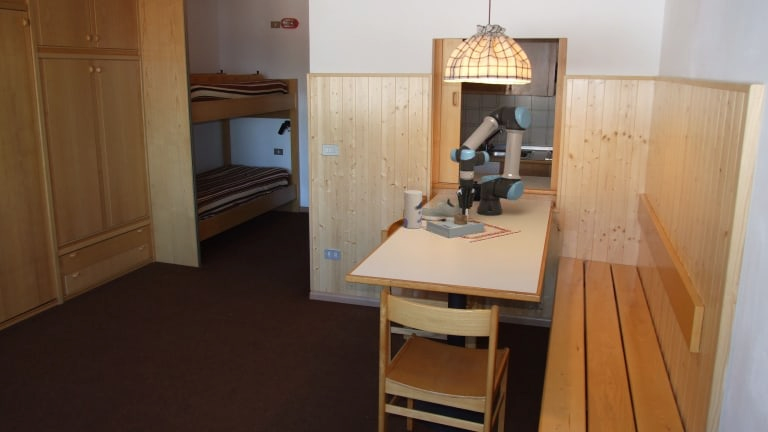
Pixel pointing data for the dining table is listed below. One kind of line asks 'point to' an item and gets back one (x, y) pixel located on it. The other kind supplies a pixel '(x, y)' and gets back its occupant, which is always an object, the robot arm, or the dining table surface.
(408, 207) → the container
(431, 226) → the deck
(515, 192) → the robot arm
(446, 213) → the running shoe
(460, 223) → the block
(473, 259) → the dining table surface
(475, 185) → the teapot
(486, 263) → the dining table surface
